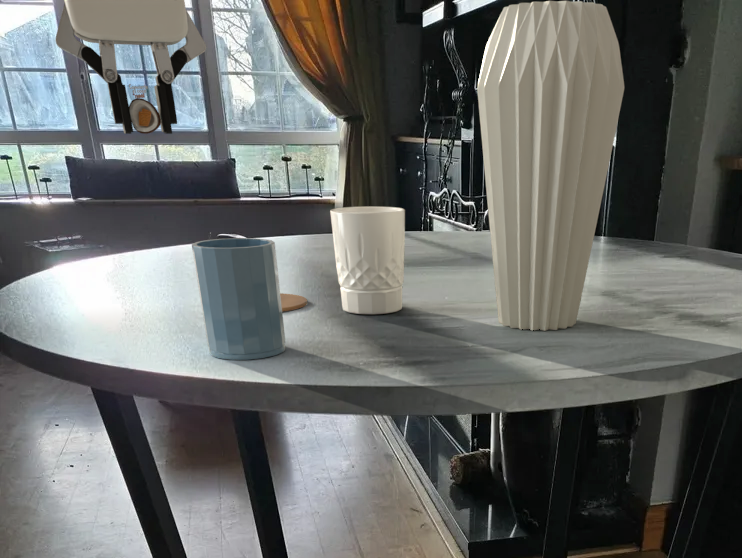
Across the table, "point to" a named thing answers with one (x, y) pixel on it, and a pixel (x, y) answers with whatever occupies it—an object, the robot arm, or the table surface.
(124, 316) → the table surface
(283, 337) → the tumbler
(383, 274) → the white cup
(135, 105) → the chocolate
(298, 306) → the cork coaster
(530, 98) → the vase
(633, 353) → the table surface
